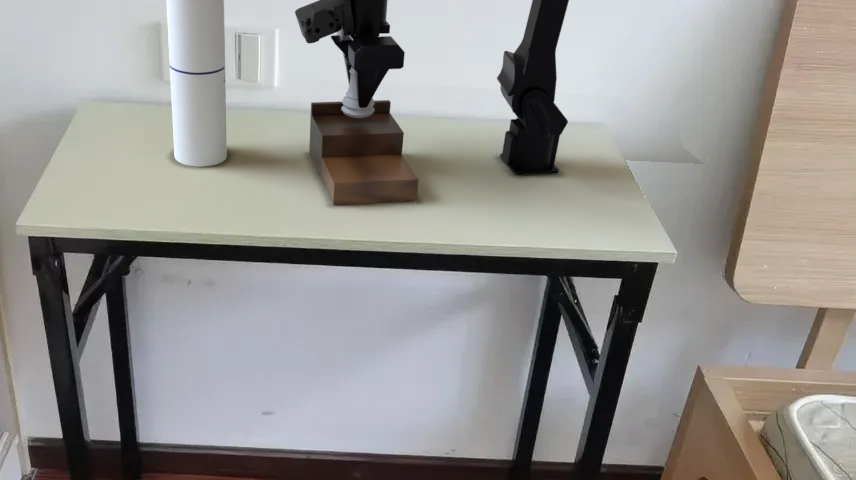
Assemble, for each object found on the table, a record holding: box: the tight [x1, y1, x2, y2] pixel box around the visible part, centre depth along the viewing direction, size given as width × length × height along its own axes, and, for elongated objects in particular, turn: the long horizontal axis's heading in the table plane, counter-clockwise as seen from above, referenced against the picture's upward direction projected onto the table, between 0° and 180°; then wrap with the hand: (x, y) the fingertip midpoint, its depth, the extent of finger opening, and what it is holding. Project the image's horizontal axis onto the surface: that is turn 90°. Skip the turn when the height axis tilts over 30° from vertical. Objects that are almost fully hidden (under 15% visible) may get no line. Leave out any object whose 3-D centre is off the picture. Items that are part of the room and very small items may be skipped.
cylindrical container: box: [165, 0, 228, 168], centre depth 125 cm, size 7×7×25 cm
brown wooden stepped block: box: [308, 99, 419, 206], centre depth 127 cm, size 11×16×8 cm
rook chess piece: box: [341, 67, 375, 118], centre depth 126 cm, size 4×4×8 cm
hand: (358, 101), depth 128 cm, fingers closed on rook chess piece, 4 cm apart
